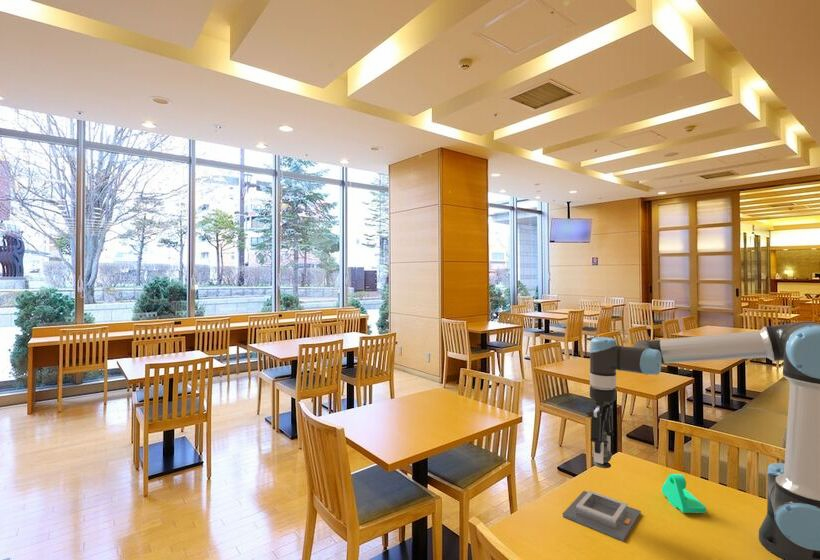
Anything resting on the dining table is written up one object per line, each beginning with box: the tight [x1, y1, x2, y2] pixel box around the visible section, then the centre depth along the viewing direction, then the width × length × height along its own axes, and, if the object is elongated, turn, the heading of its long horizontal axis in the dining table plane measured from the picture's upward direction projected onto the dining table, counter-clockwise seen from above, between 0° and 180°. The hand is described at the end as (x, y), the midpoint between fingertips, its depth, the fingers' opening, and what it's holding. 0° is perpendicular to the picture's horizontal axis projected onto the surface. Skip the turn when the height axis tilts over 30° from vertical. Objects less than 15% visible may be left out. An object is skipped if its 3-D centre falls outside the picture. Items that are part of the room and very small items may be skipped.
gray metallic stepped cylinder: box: [591, 430, 613, 469], centre depth 132 cm, size 6×6×12 cm
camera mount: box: [661, 473, 707, 514], centre depth 138 cm, size 12×8×10 cm, turn 178°
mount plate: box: [562, 490, 642, 542], centre depth 132 cm, size 18×18×4 cm
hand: (602, 458), depth 132 cm, fingers closed on gray metallic stepped cylinder, 6 cm apart
